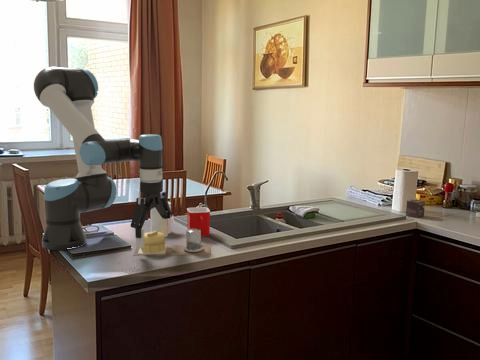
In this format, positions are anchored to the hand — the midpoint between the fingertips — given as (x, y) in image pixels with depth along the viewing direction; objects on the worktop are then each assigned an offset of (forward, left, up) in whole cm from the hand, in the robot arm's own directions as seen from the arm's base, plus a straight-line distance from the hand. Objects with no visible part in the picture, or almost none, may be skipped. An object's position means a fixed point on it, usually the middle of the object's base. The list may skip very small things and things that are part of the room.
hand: (152, 241), depth 163 cm
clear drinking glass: (+14, 0, -3) cm, 14 cm away
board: (+7, 0, -4) cm, 8 cm away
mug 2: (+16, +18, -5) cm, 25 cm away
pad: (0, 0, -3) cm, 3 cm away
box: (+116, +48, -5) cm, 126 cm away
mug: (+1, +25, -5) cm, 25 cm away
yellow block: (0, 0, -3) cm, 3 cm away
